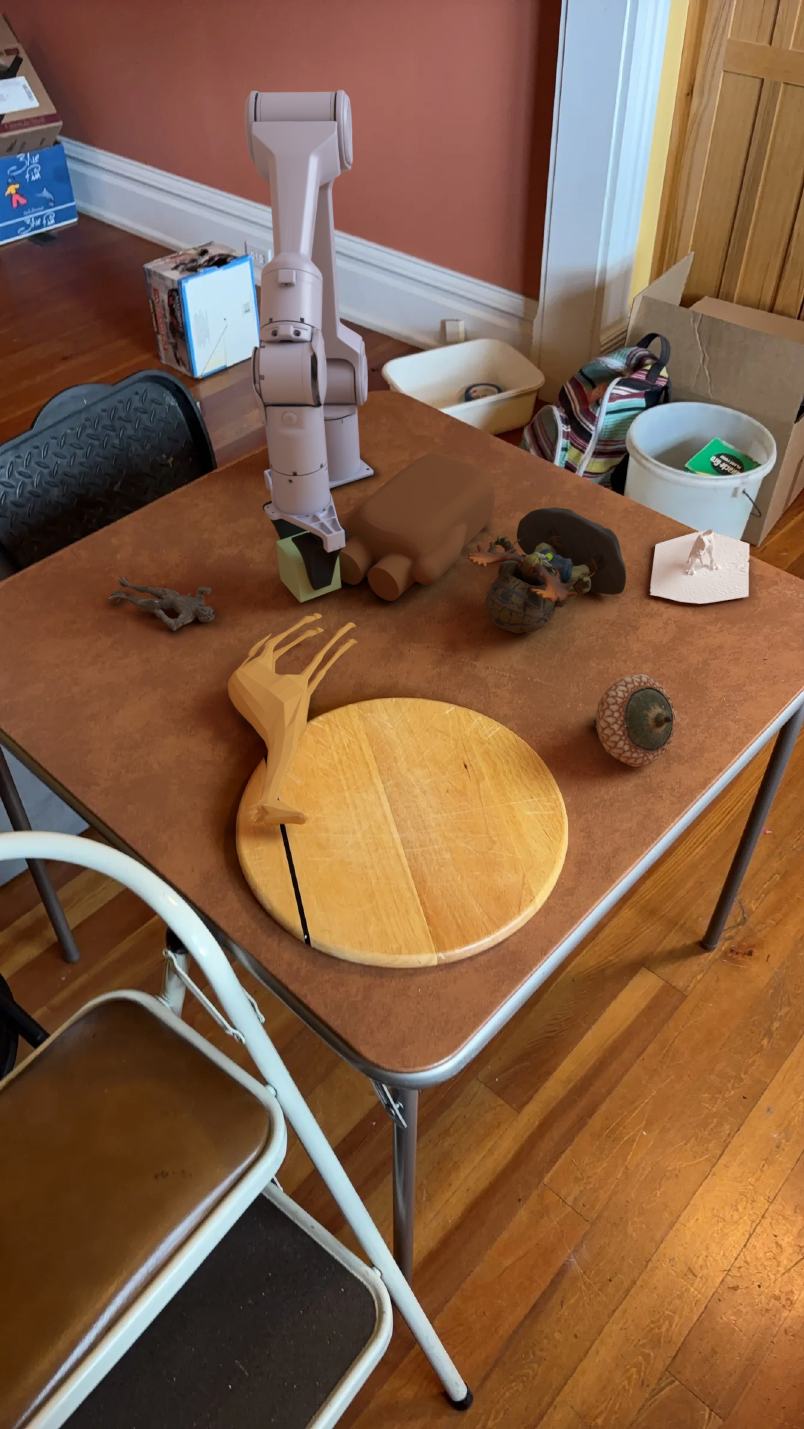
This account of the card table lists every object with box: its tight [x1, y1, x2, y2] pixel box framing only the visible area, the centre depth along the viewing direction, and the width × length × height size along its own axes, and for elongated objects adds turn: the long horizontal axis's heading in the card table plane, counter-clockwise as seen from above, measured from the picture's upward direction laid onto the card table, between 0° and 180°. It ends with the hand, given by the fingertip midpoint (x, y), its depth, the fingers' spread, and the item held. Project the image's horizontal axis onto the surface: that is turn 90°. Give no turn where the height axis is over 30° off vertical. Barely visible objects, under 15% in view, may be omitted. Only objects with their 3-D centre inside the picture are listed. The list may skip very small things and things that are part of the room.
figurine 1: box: [107, 575, 216, 632], centre depth 106 cm, size 6×4×12 cm
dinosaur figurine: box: [649, 529, 750, 605], centre depth 109 cm, size 15×12×6 cm
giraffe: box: [227, 612, 359, 829], centre depth 93 cm, size 16×4×25 cm
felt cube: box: [275, 531, 342, 603], centre depth 107 cm, size 5×5×5 cm
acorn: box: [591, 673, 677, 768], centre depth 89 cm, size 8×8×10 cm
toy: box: [338, 452, 496, 602], centre depth 112 cm, size 15×8×20 cm
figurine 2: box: [467, 506, 627, 634], centre depth 104 cm, size 14×10×18 cm
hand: (309, 572), depth 108 cm, fingers closed on felt cube, 5 cm apart
